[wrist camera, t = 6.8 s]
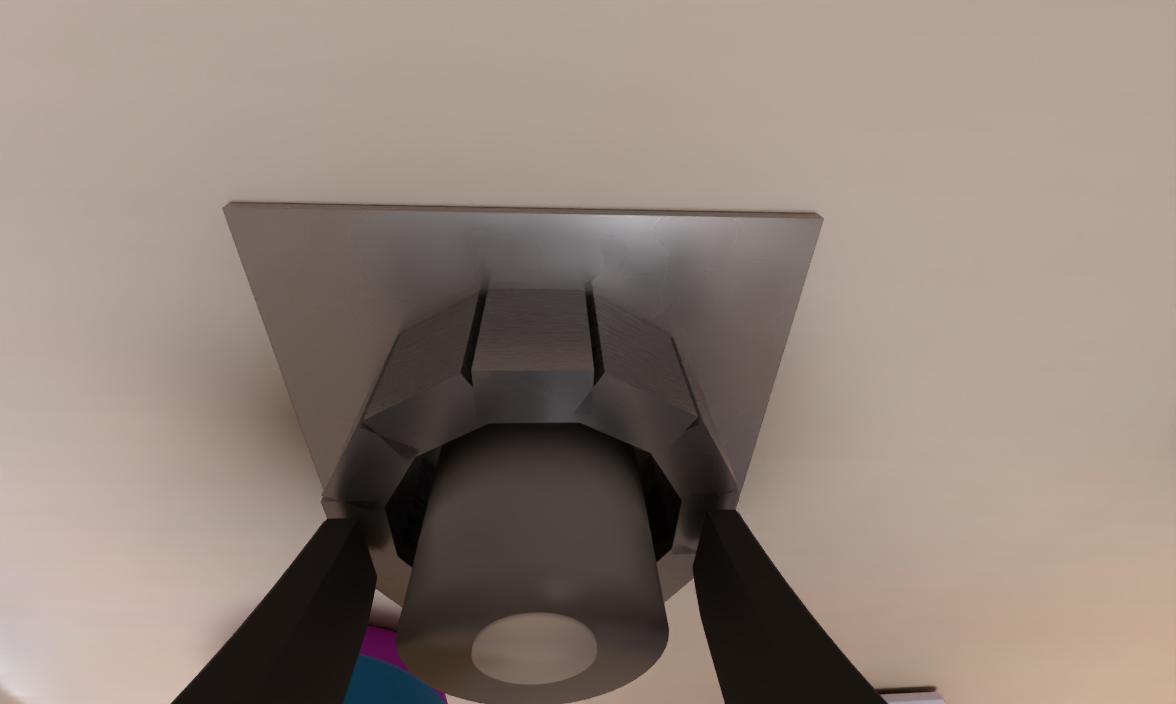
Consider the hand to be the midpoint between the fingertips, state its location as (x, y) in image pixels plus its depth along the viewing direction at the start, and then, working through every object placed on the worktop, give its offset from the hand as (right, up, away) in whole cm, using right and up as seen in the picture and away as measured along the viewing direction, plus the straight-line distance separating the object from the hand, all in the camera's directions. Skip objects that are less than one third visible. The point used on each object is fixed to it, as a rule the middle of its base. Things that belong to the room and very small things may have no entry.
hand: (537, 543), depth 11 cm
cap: (0, +2, +3) cm, 3 cm away
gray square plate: (0, +2, +3) cm, 4 cm away
